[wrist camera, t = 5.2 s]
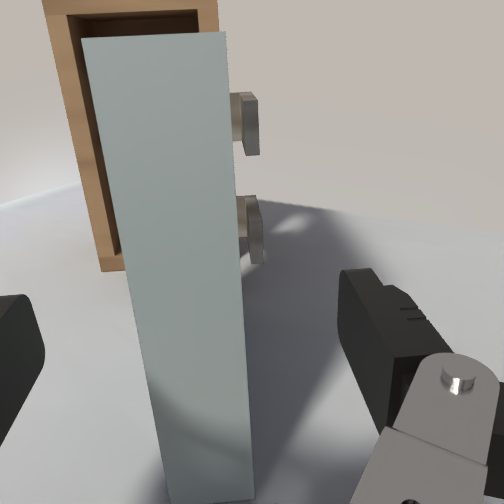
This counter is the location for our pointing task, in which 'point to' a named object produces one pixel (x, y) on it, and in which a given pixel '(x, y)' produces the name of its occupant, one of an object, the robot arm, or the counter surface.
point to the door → (180, 248)
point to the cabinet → (83, 113)
